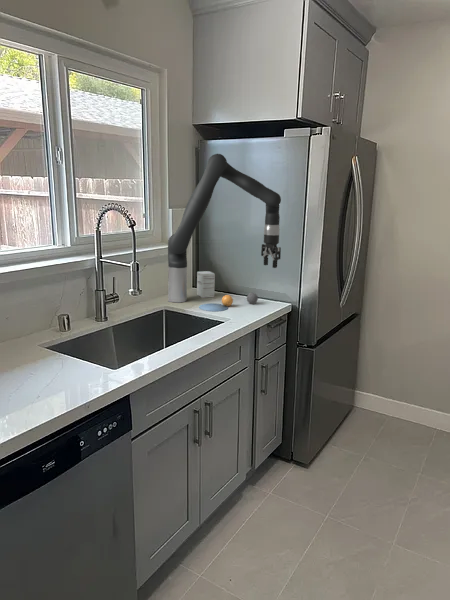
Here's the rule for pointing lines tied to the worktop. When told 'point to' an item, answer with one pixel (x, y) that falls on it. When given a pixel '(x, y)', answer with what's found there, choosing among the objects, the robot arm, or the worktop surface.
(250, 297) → the gray ball
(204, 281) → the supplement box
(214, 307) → the blue mark
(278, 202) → the robot arm
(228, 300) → the orange ball
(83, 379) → the worktop surface
